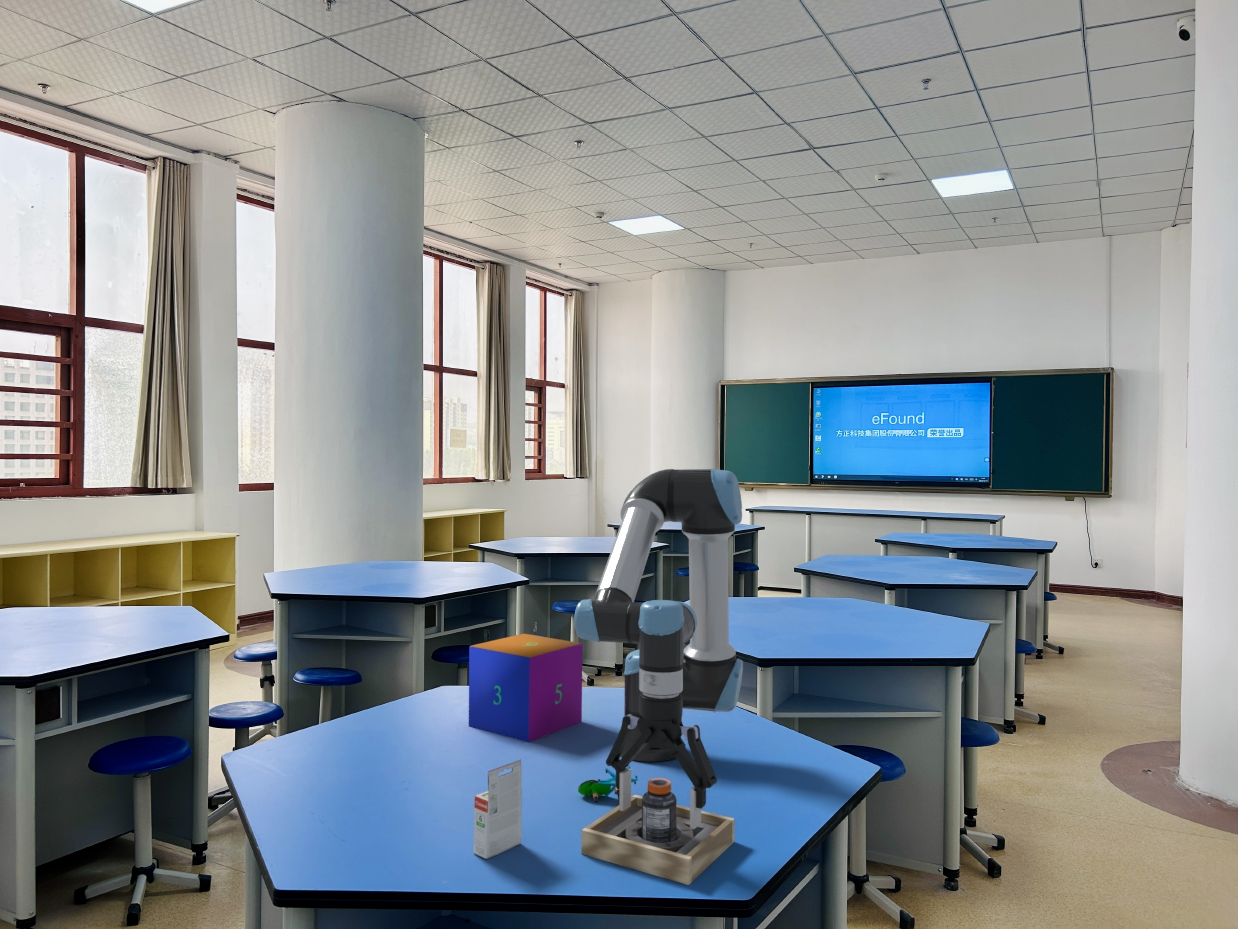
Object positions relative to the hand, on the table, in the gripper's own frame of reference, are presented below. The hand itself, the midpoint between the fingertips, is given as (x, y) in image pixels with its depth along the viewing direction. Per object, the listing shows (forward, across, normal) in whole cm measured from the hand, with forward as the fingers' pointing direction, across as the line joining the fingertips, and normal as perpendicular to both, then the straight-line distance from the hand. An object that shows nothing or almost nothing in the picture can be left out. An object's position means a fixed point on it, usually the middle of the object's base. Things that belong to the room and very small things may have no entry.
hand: (659, 817), depth 145 cm
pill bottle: (+5, 0, 0) cm, 5 cm away
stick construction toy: (+6, -18, +13) cm, 23 cm away
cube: (+6, -61, +43) cm, 75 cm away
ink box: (+6, -23, -15) cm, 28 cm away
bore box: (+5, 0, 0) cm, 5 cm away
